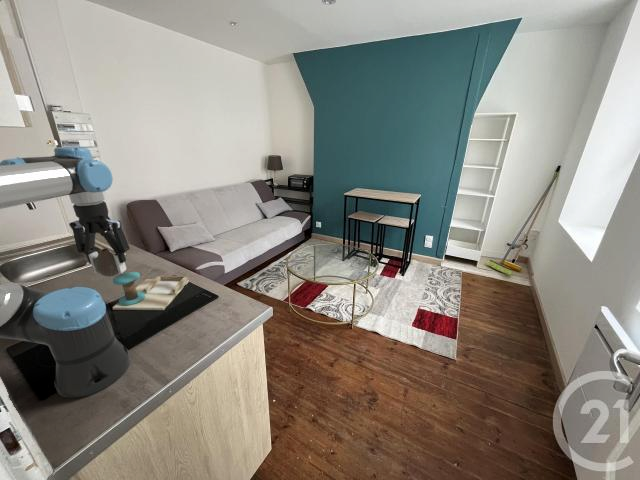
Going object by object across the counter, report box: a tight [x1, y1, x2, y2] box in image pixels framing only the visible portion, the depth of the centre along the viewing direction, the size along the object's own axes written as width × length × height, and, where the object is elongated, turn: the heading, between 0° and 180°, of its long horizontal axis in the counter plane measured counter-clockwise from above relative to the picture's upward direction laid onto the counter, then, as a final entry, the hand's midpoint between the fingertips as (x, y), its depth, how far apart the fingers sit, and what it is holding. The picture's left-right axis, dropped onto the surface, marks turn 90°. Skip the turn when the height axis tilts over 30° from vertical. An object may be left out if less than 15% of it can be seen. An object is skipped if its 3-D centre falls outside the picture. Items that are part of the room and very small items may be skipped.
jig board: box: [112, 271, 189, 311], centre depth 102 cm, size 20×18×11 cm
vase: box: [95, 247, 120, 278], centre depth 85 cm, size 7×7×9 cm
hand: (110, 271), depth 86 cm, fingers closed on vase, 7 cm apart
